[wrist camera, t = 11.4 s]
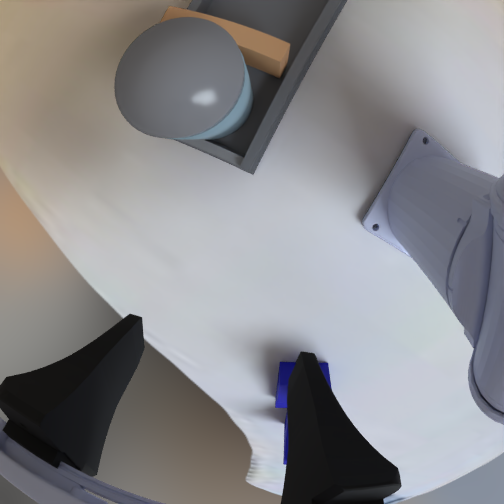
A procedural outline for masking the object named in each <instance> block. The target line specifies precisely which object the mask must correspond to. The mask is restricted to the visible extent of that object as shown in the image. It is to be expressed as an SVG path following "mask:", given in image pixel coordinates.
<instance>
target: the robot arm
mask: <svg viewBox="0 0 504 504" xmlns="http://www.w3.org/2000/svg"><path fill="white" fill-rule="evenodd" d="M424 137H425V138H426V143H425V144H424V143H423V138H424ZM374 224H378V226H377V228H376V229H372V227H373V225H374ZM362 225H363V227H364V228H365V229H366V230H367V231H369V232H371V233H372V234H374V235H376V236H377V237H379V238H381V239H382V240H384V241H386V242H387V243H389V244H391V245H392V246H394V247H395V248H397V249H399V250H400V251H402V252H403V253H405V254H407V255H408V256H410V257H411V258H413V260H414V261H415V262H416V263H417V264H418V266H419V267H420V268H421V270H422V271H423V272H424V273H425V275H426V276H427V277H428V279H429V280H430V281H431V282H432V284H433V285H434V286H435V288H436V289H437V290H438V292H439V293H440V295H441V296H442V297H443V299H444V300H445V301H446V303H447V304H448V306H449V307H450V309H451V310H452V311H453V313H454V314H455V316H456V317H457V319H458V320H459V322H460V323H461V324H462V325H463V326H464V328H465V329H464V334H465V335H466V337H467V339H468V340H469V342H470V343H471V345H472V347H473V348H474V351H473V354H472V357H471V360H470V364H469V369H468V381H469V388H470V391H471V394H472V397H473V399H474V401H475V403H476V404H477V406H478V407H479V408H480V410H481V411H482V412H483V413H484V414H485V415H487V416H488V417H489V418H491V419H492V420H494V421H495V422H498V423H501V424H503V425H504V174H503V175H502V177H501V178H497V177H495V176H493V175H490V174H488V173H485V172H483V171H480V170H477V169H475V168H472V167H470V166H467V165H464V164H461V163H460V162H459V161H458V160H457V159H456V158H454V157H453V156H452V155H451V154H450V153H449V152H448V151H447V150H446V149H445V148H443V147H442V146H441V145H440V144H439V143H438V142H437V141H435V140H434V139H433V138H432V137H431V136H429V135H428V134H427V133H426V132H424V131H423V130H421V129H416V130H414V131H413V133H412V134H411V136H410V138H409V140H408V142H407V144H406V146H405V148H404V150H403V151H402V153H401V155H400V157H399V159H398V160H397V162H396V164H395V166H394V168H393V169H392V171H391V173H390V175H389V176H388V178H387V180H386V182H385V183H384V185H383V187H382V188H381V190H380V192H379V194H378V195H377V197H376V199H375V200H374V202H373V204H372V205H371V207H370V208H369V210H368V212H367V213H366V215H365V217H364V218H363V220H362ZM143 351H144V337H143V324H142V317H139V316H136V315H133V314H129V315H128V316H126V317H125V318H124V319H122V320H121V321H120V322H119V323H117V324H116V325H115V326H113V327H112V328H111V329H109V330H108V331H107V332H105V333H104V334H102V335H101V336H100V337H98V338H97V339H96V340H94V341H93V342H91V343H90V344H88V345H86V346H85V347H83V348H82V349H80V350H78V351H77V352H75V353H73V354H72V355H70V356H68V357H66V358H64V359H62V360H60V361H57V362H55V363H53V364H51V365H48V366H46V367H43V368H40V369H37V370H34V371H31V372H27V373H23V374H19V375H14V376H9V377H6V378H5V380H4V381H3V382H2V384H1V385H0V408H1V410H2V411H3V412H4V413H5V415H6V416H7V417H8V418H9V420H8V422H7V423H6V422H5V421H4V420H3V419H2V418H0V474H1V475H2V476H3V477H4V478H5V479H7V480H8V481H9V482H10V483H12V484H13V485H14V486H15V487H17V488H18V489H19V490H21V491H22V492H23V493H25V494H26V495H27V496H29V497H30V498H32V499H33V500H35V501H36V502H37V503H39V504H108V503H107V502H106V501H104V500H102V499H100V498H98V497H96V496H94V495H92V494H90V493H88V492H86V491H85V490H84V489H86V490H88V491H90V492H92V493H94V494H97V495H99V496H101V497H103V498H106V499H108V500H111V501H113V502H115V503H118V504H164V503H161V502H157V501H154V500H151V499H148V498H144V497H141V496H138V495H136V494H133V493H130V492H127V491H124V490H122V489H119V488H116V487H114V486H112V485H109V484H107V483H105V482H102V481H100V480H98V479H96V478H93V476H95V475H97V472H98V467H99V463H100V458H101V454H102V450H103V446H104V442H105V439H106V436H107V432H108V429H109V426H110V423H111V420H112V418H113V414H114V412H115V409H116V407H117V405H118V403H119V401H120V399H121V396H122V395H123V393H124V391H125V389H126V387H127V385H128V383H129V382H130V380H131V378H132V376H133V374H134V372H135V370H136V368H137V366H138V364H139V361H140V358H141V356H142V353H143ZM287 417H288V455H287V465H286V474H285V481H284V488H283V494H282V500H281V504H384V501H383V499H384V498H386V497H387V496H389V495H391V494H393V493H395V492H396V491H398V490H399V489H400V488H401V480H400V474H399V471H398V468H397V467H396V466H395V465H393V464H392V463H391V462H389V461H388V460H387V459H386V458H384V457H383V456H382V455H381V454H380V453H379V452H378V451H377V450H376V449H374V448H373V447H372V446H371V445H370V443H369V442H368V441H367V440H366V439H365V438H364V437H363V436H362V435H361V434H360V432H359V431H358V430H357V429H356V427H355V426H354V425H353V424H352V422H351V421H350V419H349V418H348V417H347V415H346V414H345V412H344V411H343V409H342V407H341V406H340V404H339V402H338V401H337V399H336V397H335V395H334V394H333V392H332V390H331V388H330V386H329V384H328V382H327V380H326V378H325V376H324V374H323V372H322V370H321V367H320V365H319V363H318V361H317V358H316V356H315V354H314V353H308V352H300V355H299V357H298V359H297V361H296V364H295V366H294V368H293V370H292V373H291V375H290V377H289V379H288V390H287Z"/></svg>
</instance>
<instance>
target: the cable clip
mask: <svg viewBox="0 0 504 504" xmlns="http://www.w3.org/2000/svg"><path fill="white" fill-rule="evenodd" d="M295 364H296V362H280V366H279V374H278V383H277V391H276V402H275V408H287V390H288V379H289V377H290V375H291V373H292V370H293V368H294V366H295ZM319 365H320V367H321V370H322V372H323V374H324V376H325V378H326V380H327V382H328V384H329V386H330V388H331V381H330V374H329V367H328V363H319ZM331 390H332V389H331ZM287 455H288V417H287V415H286V420H285V427H284V463H283V464H286V465H287Z"/></svg>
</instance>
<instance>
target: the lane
mask: <svg viewBox="0 0 504 504" xmlns="http://www.w3.org/2000/svg"><path fill="white" fill-rule="evenodd" d="M346 2H347V0H192V2H191V3H190V5H189V7H188V8H187V10H191V11H195V12H199V13H203V14H207V15H211V16H214V17H218V18H221V19H225V20H228V21H231V22H234V23H237V24H240V25H243V26H246V27H249V28H252V29H255V30H258V31H260V32H263V33H265V34H268V35H271V36H273V37H276V38H278V39H280V40H283V41H285V42H287V43H290V50H289V56H288V63H287V66H286V68H285V70H284V72H283V74H282V76H281V77H280V79H279V78H277V77H275V76H273V75H270V74H268V73H266V72H263V71H261V70H259V69H256V68H254V67H251V66H249V65H246V67H247V71H248V74H249V77H250V81H251V84H252V88H253V92H254V103H253V108H252V111H251V113H250V116H249V117H248V119H247V121H246V122H245V123H244V124H243V125H242V126H241V127H240V128H239V129H238V130H237V131H235V132H234V133H232V134H230V135H228V136H226V137H223V138H219V139H212V140H199V139H174V140H176V141H179V142H181V143H183V144H186V145H188V146H190V147H193V148H195V149H198V150H200V151H202V152H204V153H207V154H209V155H211V156H214V157H216V158H218V159H220V160H222V161H225V162H227V163H229V164H231V165H233V166H236V167H238V168H240V169H242V170H244V171H246V172H248V173H251V174H254V172H255V170H256V168H257V166H258V164H259V162H260V160H261V158H262V156H263V154H264V152H265V150H266V148H267V146H268V144H269V142H270V141H271V139H272V137H273V135H274V133H275V131H276V129H277V127H278V125H279V123H280V121H281V119H282V117H283V115H284V113H285V112H286V110H287V108H288V106H289V104H290V102H291V100H292V98H293V96H294V94H295V93H296V91H297V89H298V87H299V85H300V83H301V81H302V80H303V78H304V76H305V74H306V72H307V70H308V69H309V67H310V65H311V63H312V61H313V59H314V58H315V56H316V54H317V52H318V50H319V49H320V47H321V45H322V43H323V42H324V40H325V38H326V36H327V34H328V33H329V31H330V29H331V27H332V26H333V24H334V22H335V20H336V19H337V17H338V15H339V14H340V12H341V10H342V8H343V7H344V5H345V3H346Z"/></svg>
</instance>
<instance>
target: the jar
mask: <svg viewBox="0 0 504 504" xmlns="http://www.w3.org/2000/svg"><path fill="white" fill-rule="evenodd" d="M115 97H116V101H117V104H118V107H119V109H120V111H121V113H122V115H123V116H124V118H125V119H126V120H127V121H128V122H129V123H130V124H131V125H132V126H133V127H134V128H136V129H137V130H139V131H141V132H143V133H145V134H147V135H150V136H154V137H159V138H167V139H199V140H212V139H219V138H223V137H226V136H228V135H230V134H232V133H234V132H235V131H237V130H238V129H239V128H240V127H241V126H242V125H243V124H244V123H245V122H246V121H247V119H248V117H249V116H250V113H251V111H252V108H253V103H254V92H253V88H252V84H251V81H250V77H249V74H248V71H247V67H246V64H245V61H244V57H243V55H242V53H241V51H240V49H239V47H238V45H237V43H236V41H235V40H234V39H233V37H232V36H231V35H230V34H229V33H228V32H227V31H226V30H225V29H224V28H222V27H221V26H219V25H218V24H216V23H214V22H211V21H209V20H206V19H202V18H196V17H180V18H174V19H170V20H166V21H163V22H161V23H159V24H156V25H154V26H153V27H151V28H149V29H148V30H146V31H145V32H143V33H142V34H141V35H140V36H138V37H137V38H136V39H135V40H134V41H133V42H132V44H131V45H130V46H129V47H128V49H127V50H126V51H125V53H124V55H123V57H122V58H121V61H120V63H119V65H118V68H117V72H116V77H115Z"/></svg>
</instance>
